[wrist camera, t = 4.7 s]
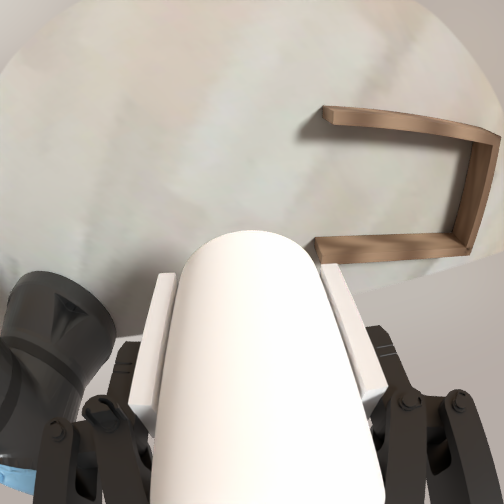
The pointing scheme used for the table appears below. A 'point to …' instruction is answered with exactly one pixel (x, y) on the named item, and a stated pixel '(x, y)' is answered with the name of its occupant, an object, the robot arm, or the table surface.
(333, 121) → the open wooden frame
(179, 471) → the can
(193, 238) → the table surface
